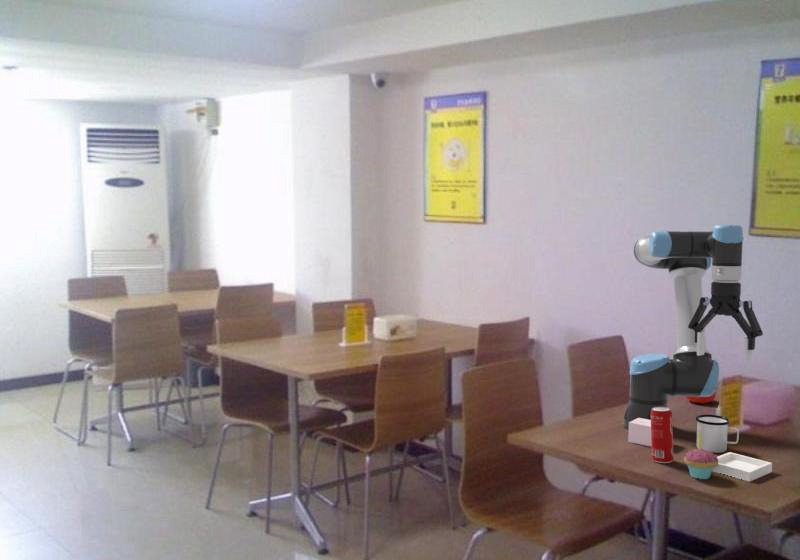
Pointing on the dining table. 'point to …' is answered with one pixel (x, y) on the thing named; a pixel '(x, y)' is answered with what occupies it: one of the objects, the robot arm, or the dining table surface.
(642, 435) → the tissue box
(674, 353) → the robot arm
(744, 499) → the dining table surface
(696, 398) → the tomato
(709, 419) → the mug
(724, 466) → the tray
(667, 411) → the beverage can
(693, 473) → the cupcake
